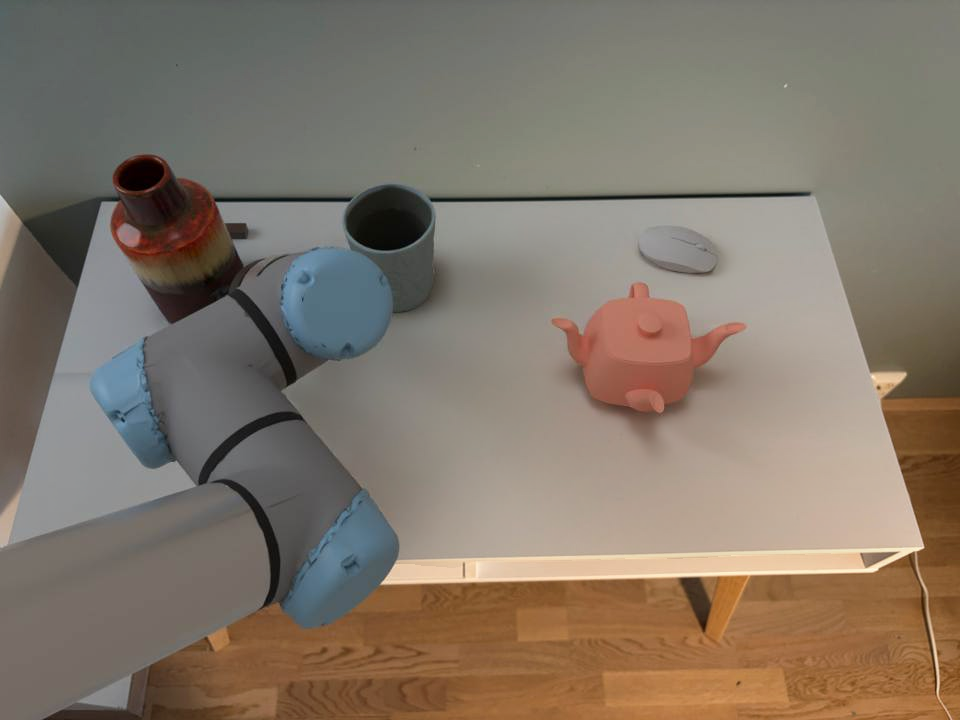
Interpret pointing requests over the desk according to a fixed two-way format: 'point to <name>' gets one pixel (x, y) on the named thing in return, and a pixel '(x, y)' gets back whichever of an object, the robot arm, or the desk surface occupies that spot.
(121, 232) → the vase
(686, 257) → the computer mouse
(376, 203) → the grey-blue ceramic planter
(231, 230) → the strip
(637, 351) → the teapot
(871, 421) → the desk surface
